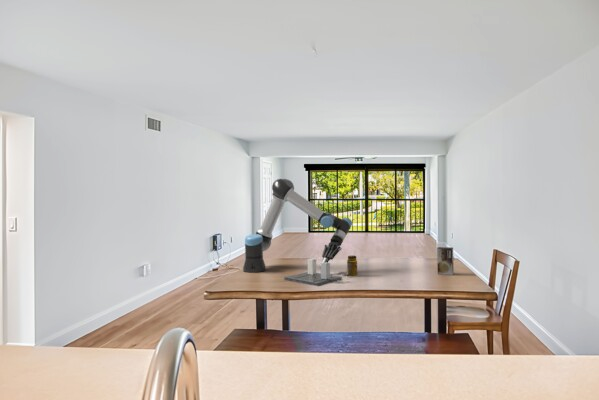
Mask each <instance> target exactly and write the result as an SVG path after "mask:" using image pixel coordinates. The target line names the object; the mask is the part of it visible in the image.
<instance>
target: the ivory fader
mask: <svg viewBox="0 0 599 400" xmlns="http://www.w3.org/2000/svg"><path fill="white" fill-rule="evenodd" d="M307 272H308V274H311V275H314V274H317V273H318V272H317V259H316V258H308V259H307Z"/></svg>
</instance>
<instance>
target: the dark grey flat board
mask: <svg viewBox="0 0 599 400" xmlns="http://www.w3.org/2000/svg"><path fill="white" fill-rule="evenodd" d="M341 279H342V280H343V278H342V276H339V275H331V274H330V279H321V272H320V273H319V272H317V274H314V275H311V274H308V271H306V272H301V273H296V274H292V275H288V276H284V277H283V280H284V281H289V282H294V283H300V284H303V285H304V284H305V285H311V286H315V287H319V286H322V285H326V284H329V283H334V282H337V280H338V281H341Z"/></svg>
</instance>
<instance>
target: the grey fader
mask: <svg viewBox="0 0 599 400" xmlns="http://www.w3.org/2000/svg"><path fill="white" fill-rule="evenodd" d="M320 265H321V267H320V273H321V279H330V275H331V269H330V268H331V263H330V262H328V263H327V262H323V263H322V262H320Z"/></svg>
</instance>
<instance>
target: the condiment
mask: <svg viewBox="0 0 599 400" xmlns="http://www.w3.org/2000/svg"><path fill="white" fill-rule="evenodd" d="M346 261H347V262H346V264H347V265H346V266H347V268H346V269H347V271H346V272H347V273H346V274H342V276H344V277H346V276H347V278H352V277H358V276H361V275H360V274H358V260H357V255H348V256H347V260H346Z"/></svg>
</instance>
